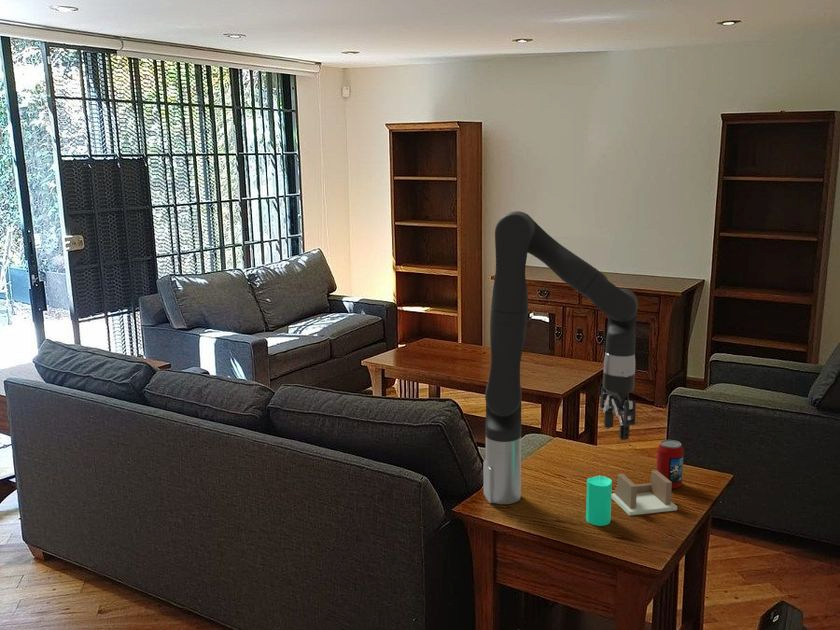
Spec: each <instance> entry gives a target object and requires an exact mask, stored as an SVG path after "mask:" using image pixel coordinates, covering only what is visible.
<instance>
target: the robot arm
mask: <svg viewBox="0 0 840 630" xmlns="http://www.w3.org/2000/svg"><path fill="white" fill-rule="evenodd" d="M494 243H495V246H494V247H495V275H494V280H493V286H492V297H491V305H490V316H489V317H490V320H489V321H490V322H489V339H490V340H489V342H490V343H489V345H490V356H491V357H490V359H491V360H490V371H489V377H488V381H487V384H486V387H485V394H484V398H485V460H483V464H482V465H483V468H482V469H483V471H482V473H483V475H482V476H483V496H484V498H485V499H486V500H487V502H488V503H489V504H498V505H510V504H511V505H512V504H515V503H517V502H519V501H520V500H521V496H522V495H521V494H522V478H521V477H522V471H521V469H522V385H521V362H522V356H523V350H524V346H525V340H526V333H527V326H528V318H529V317H528V314H529V296H528V294H529V293H528V286H527V279H526V277H527V276H526V265H527V259H528V254H530V255H532V257H534V258H536V259H538V260H539V261H541V262H542V263H543V264H544V265H546V266H547V267H548V268H549V269H550V270H551V271H552V273H554V274H555V275H557V277H558V278H559V279H561V280H562V281H563V282H564V283H565V284H566V285H568V286H569V287H570V288H572V289H573V290H574V291H576V292H577V293H579V294H580V295H582V296H583V297H584V298H587V299H588V300H590V302H592V303H593V304H594V305H595V306H596V307H597V308H598V309H599V310H600V311H601V312H603V313H604V314H605V315H607V316H608V321H607V323H608V325H607V326H608V327H607V332H606V337H605V352H604V359H603V370H602V371H603V373H602V374H603V377H602V386H601V390H600V404H599V408H600V409H602V411H603V414H604V416H603V417H604V418H603V419H604V420H603V426H604V427H605V429H610V428H613V427H614V419H615V417H614V415H616V417H617V418H618V420H619V423H620V424H619V434H618V436H619V439H620V440H622V441H625V440H629V438H630V426H635V424H636V400H630V398H629V397H630V396H629V395H630V393H631V392H633V391H634V390H635V378H636V377H635V376H636V325H637V317H638V307H639V299H638V297H637V295H636V294H635V293H634V292H633V291H632V290H630V289H628V288H619V287H617V286H616V285H615V284H614V283H612V282H611V281H609V279H608V277H607V276H606V275H605V274H604V273H603V272H601V271H599V270H598V269H597V268H596V267H594V266H593V265H591V264H590V263H588V262H587V261H585V260H584V259H583V258H581V257H580V256H578V255H577V254H575V253H574V252H572V251H571V250H569V249H568V248H567V247H565V246H564V245H562V244H561V243H559V242H558V241H557V240H556V239H554V238H553V237H552V236H551V235H550V234H549V233H548V232H546V231H545V230H544V229H543V228H542V227H541V226H540V225H539V224H538V223H537V222H536V221H535V220H534V219H533V218H532V217H531V216H530V215H529V214H528V213H526V212H523V211H511V212H508V213H506V214H504V215H503V216H501V217H500V219H498V221H497V223H496V224H495V228H494ZM614 412H615V414H614Z"/></svg>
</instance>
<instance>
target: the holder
mask: <svg viewBox="0 0 840 630" xmlns="http://www.w3.org/2000/svg"><path fill="white" fill-rule="evenodd" d="M650 472H651V474H650V482H649V483H639V484H636V483H634V482H633V481H632V480H631V479H629V478H628V477H627V476H626V475H625V474H624V473H617V477H616V478H617V482H616V483H617V484H616V486H615V490H614V492H613V493H612V494H611V500H613V501H614V502H615V503H616V504H617V505H618V506H619V507H620V508H621V509H622V510H623V511H624V512H625V513H626V514H627V515H628V516H637V515H646V514H655V513H662V512H672V511H673V512H674V511H678V506H677V505H676V504H675V503H674V502H673V501H672V482H671V481H670V480H668V479H667V478H666V477H665V476H663V475H662V474H661V473H660V472H658V471H657V469H655V470H654V469H653V470H651V471H650Z"/></svg>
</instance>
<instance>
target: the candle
mask: <svg viewBox="0 0 840 630" xmlns="http://www.w3.org/2000/svg"><path fill="white" fill-rule="evenodd" d="M612 487H613V480H612V479H611V478H610V477H607V476H604V475H600V474H599V475H596V476H593V477H588V478H587V480H586V503H585V504H586V505H585V509H586V510H585V521H586V522H587V523H588V524H590V525H592V526H598V527H601V526H602V527H603V526H607V525H609V524H611V520H612V517H611V515H612V498H611V494H612V490H613V489H612Z"/></svg>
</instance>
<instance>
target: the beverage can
mask: <svg viewBox="0 0 840 630" xmlns="http://www.w3.org/2000/svg"><path fill="white" fill-rule="evenodd" d="M684 453H685V449H684V448H683V446H682V443H681V442H680V441H678V440H674V439H663V440H660V443H659V445H658V447H657V455H656V456H657V457H656V470H657V471H658V472H660V473H661V474H662V475H663V476H665V477H666V478H667V479H668V480H670V481H671V482H672V489H677V488H678V487H681V486H683V485H682V484H683V475H684V474H683V473H684V469H683V468H684ZM672 489H671V490H672Z"/></svg>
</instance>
